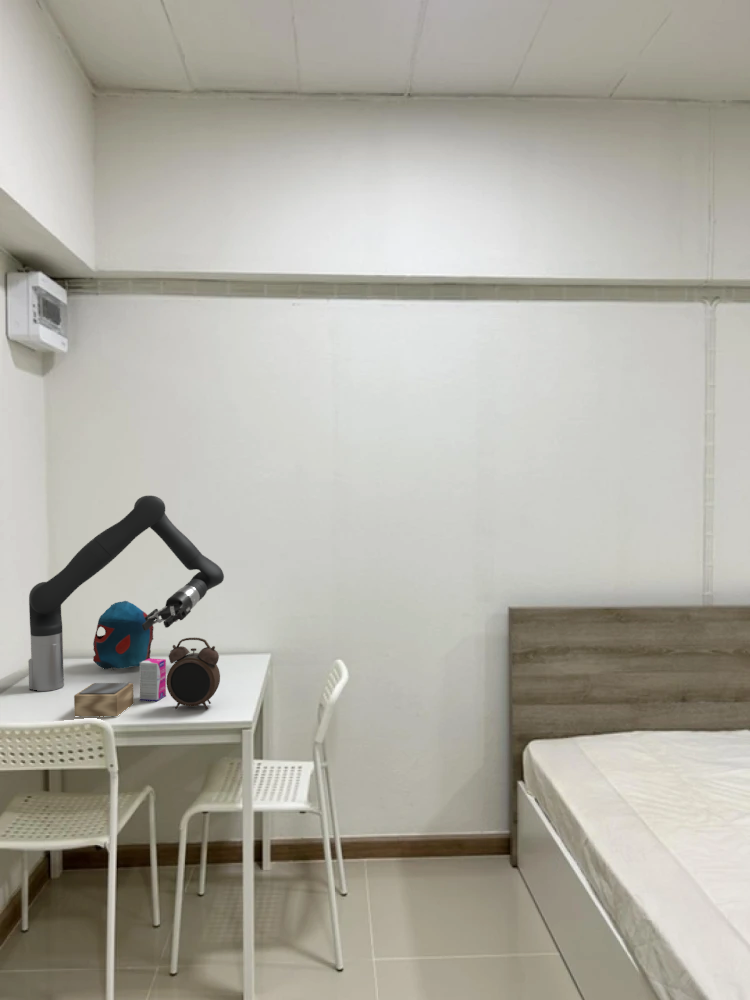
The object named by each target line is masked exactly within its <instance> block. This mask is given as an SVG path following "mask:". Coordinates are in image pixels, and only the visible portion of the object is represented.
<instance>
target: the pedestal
mask: <svg viewBox="0 0 750 1000" xmlns="http://www.w3.org/2000/svg"><path fill="white" fill-rule="evenodd" d="M134 698H135V697H134V683H133V682H132V683H129V682H93V683H91V684H90V685H88V686H86V687H85V688H84V689H82V690H81V691H79V692H77V693H76V694H74V695H73V699H74V700H73V703H74V704H73V705H74V709H73V710H74V717H75V716H99V717H98V718H101V717H100V716H103V717H102V718H105V717H104V716H118V715H119V714H121V713H122V712H123V711H124V710H126V709H127V708H128V707H129V708H130V707H132V706H133V705H134V704H135V701H134V700H135V699H134ZM133 703H134V704H133ZM132 704H133V705H132ZM131 705H132V706H131ZM129 708H128V709H129ZM128 709H127V710H128ZM127 710H126V711H127ZM124 712H125V711H124ZM124 712H123V713H124ZM123 713H122V714H123ZM122 714H121V715H122ZM119 716H120V715H119ZM119 716H118V717H119Z"/></svg>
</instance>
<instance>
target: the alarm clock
mask: <svg viewBox="0 0 750 1000" xmlns="http://www.w3.org/2000/svg"><path fill="white" fill-rule="evenodd" d="M185 641H199V642H203V644H204V645H205V647H204V648H202V649H201V650H200V651H199V652H196V651H197V648H195V647H194V648H190V650H189V649H188V648H187V647H185V646H184V645H183V646H180V645H181V644H182V642H185ZM169 651H170V652H169V655H168V659H169V663H170V664H173V665H172V666H171V667H170V668H169V670H168V672H167V674H166V690H167V691H168V693H169V695H170V697H171V698H172V699H173V700H174V701H175V702H176V703H177V704H176V706H175V708H174V709H175V710H177V709H178V708H179V707H180V705H182V706H184V707H191V708H193V707H197V706H200V705H203V706H204V708H205V710H206V709H208V710H209V707H208V706H207V703H206V702H208V704H212V701H210V699H211V698H212V697H213V696H214V695H215V693H216V692H217V690H218V688H219V686H220V682H221V672H220V669H219V667H218V665H217V664H218V662H219V659H220V655H219V653H218V651H217V650H216V646H215V645H213V646H210V644H209V643H208V642H207V640H206V639H204V638H200V637H185V638H183V639H180V640H179V641H178V643H177V645H175V644H173V645H172V649H171V650H169ZM190 651H191V652H192V653H190Z"/></svg>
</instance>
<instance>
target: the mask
mask: <svg viewBox="0 0 750 1000" xmlns="http://www.w3.org/2000/svg"><path fill="white" fill-rule="evenodd" d="M147 615H148V614H147V613H146V612H145V611H143V610H142V609H141V608H140V607H138V606H137V605H135V604H134V603H131V602H129V601H128V600H123V601H119V602H114V603H113V604H110V606H109V607H108V608H107V609H106V610H105V611H104V612H103V613H102V614H101V615H100V617H99V618H98V621H97V625H96V631H95V633H94V634H95V635H94V638H93V644H92V645H93V651H94V655H93V659H92V660H93V662H94V663H95V664H96V665H97V666H98V667H100V668H101V669H103V668H104V669H103V670H109V669H112V670H115V669H117V670H120V669H127V668H133V667H140V662H142V661H144V660H147V659H149V658H150V657H151V652H152V651H151V647H152V646H151V645H152V642H153V640H154V629H155V627H154V624H153V625H152V626H151V627H150V628H149V629H148V630H145V631H144V629H143V627H142V624H143V623H145V622H146V620H145V617H146V616H147ZM100 627H101V628H103V629H104V631H105V633H104V634H103V635H100V636H99V635H98V630H99V629H100Z"/></svg>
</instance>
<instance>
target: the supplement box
mask: <svg viewBox="0 0 750 1000" xmlns="http://www.w3.org/2000/svg"><path fill="white" fill-rule="evenodd" d="M166 661H167V659H166V658H165V659H164V658H149V659H147V660H144V661H142V662H140V666H139V701H140V702H151V701H155V702H156V703H157V702H158V701H160V700H162V699H163V698H165V697H166V696H167V693H166V692H167V691H166V690H167V683H166V681H167V670H166V669H167V668H166V667H167V662H166ZM155 702H154V703H155Z"/></svg>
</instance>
